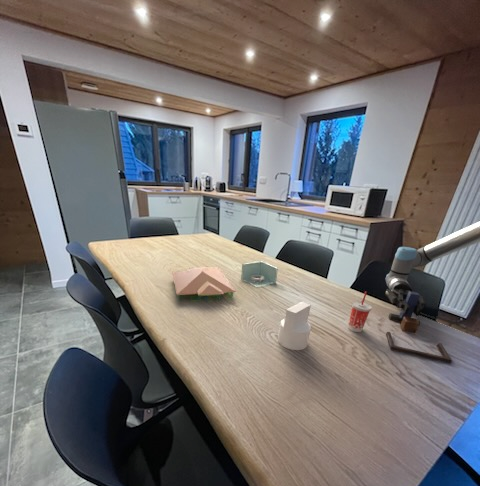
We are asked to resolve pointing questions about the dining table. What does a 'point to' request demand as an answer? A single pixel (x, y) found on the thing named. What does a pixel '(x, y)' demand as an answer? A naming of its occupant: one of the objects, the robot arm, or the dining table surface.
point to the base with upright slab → (295, 327)
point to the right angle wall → (259, 273)
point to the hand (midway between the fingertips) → (412, 311)
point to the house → (202, 282)
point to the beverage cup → (359, 315)
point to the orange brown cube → (409, 324)
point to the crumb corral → (443, 358)
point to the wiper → (411, 301)
